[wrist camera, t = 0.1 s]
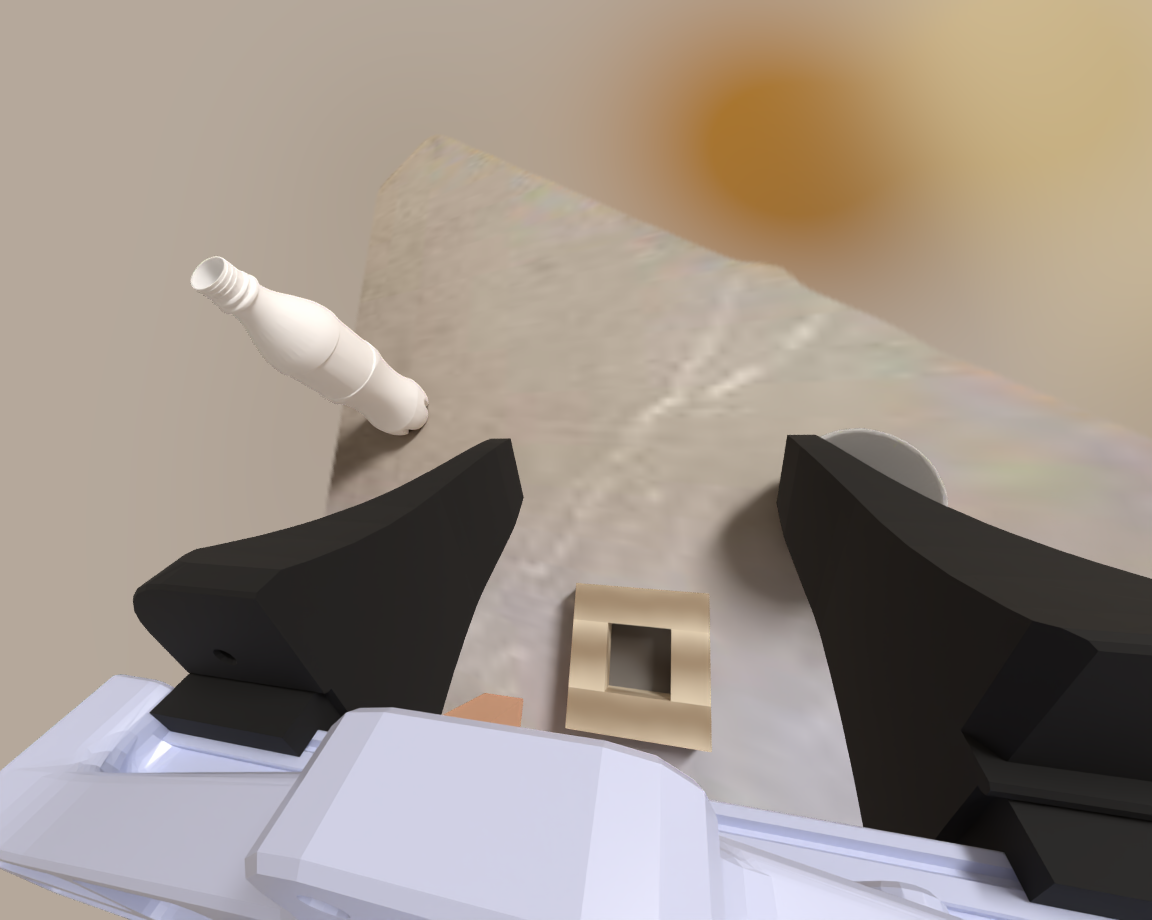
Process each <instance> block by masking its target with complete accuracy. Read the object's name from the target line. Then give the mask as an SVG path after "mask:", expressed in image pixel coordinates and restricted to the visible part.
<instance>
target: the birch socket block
mask: <svg viewBox="0 0 1152 920" xmlns="http://www.w3.org/2000/svg"><path fill="white" fill-rule="evenodd" d="M565 728H566V729H572V730H578V731H585V732H591V733H597V734H603V735H609V736H615V737H621V738H627V739H634V740H640V741H646V742H652V743H658V744H664V745H670V746H676V747H683V748H689V749H695V750H701V751H707V752H712V745H711V679H710V612H709V594H705V593H692V592H680V591H668V590H655V589H643V588H631V587H618V586H606V585H594V584H581V583H576V594H575V607H574V620H573V634H572V647H571V660H570V673H569V686H568V699H567V712H566V725H565Z"/></svg>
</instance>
